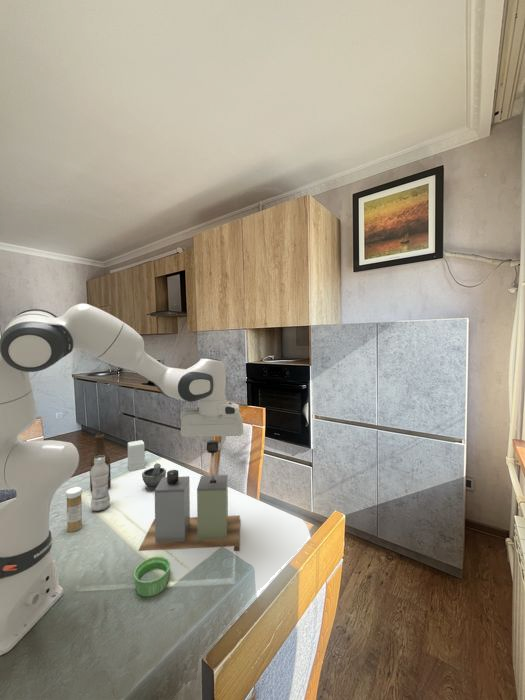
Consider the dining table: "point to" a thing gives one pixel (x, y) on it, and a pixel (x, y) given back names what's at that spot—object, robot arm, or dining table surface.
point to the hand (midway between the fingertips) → (212, 449)
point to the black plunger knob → (212, 455)
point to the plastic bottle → (99, 484)
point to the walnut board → (194, 537)
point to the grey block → (172, 510)
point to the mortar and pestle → (153, 476)
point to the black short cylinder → (172, 477)
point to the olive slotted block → (212, 507)
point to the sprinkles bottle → (74, 509)
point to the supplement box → (136, 455)
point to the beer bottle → (99, 451)
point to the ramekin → (156, 585)
